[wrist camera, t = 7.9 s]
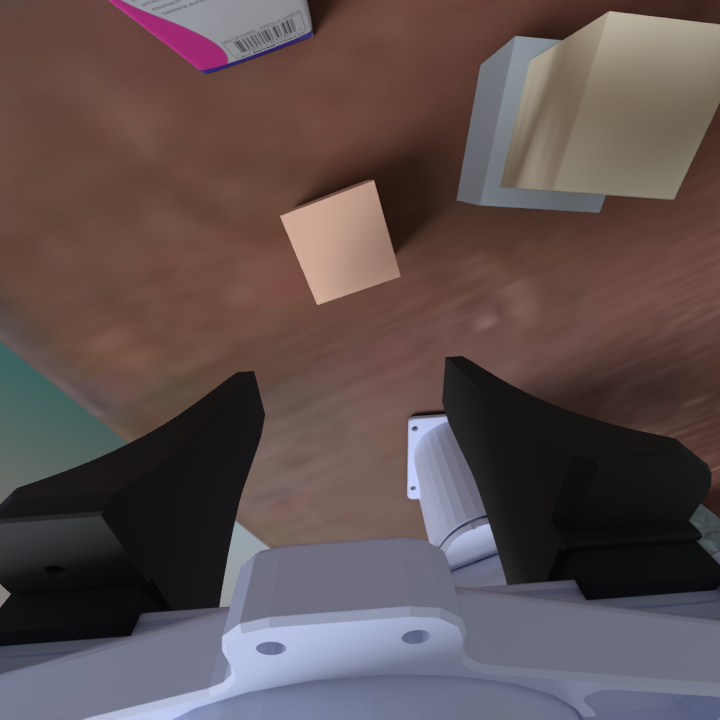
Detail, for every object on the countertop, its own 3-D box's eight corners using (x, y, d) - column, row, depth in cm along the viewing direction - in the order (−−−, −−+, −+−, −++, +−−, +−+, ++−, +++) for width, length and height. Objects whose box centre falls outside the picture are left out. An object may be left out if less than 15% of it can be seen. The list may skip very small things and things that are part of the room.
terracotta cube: (389, 257, 21) (400, 276, 17) (322, 280, 21) (317, 304, 17) (367, 179, 18) (374, 180, 15) (293, 207, 19) (280, 216, 15)
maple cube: (590, 194, 16) (673, 199, 12) (499, 186, 15) (553, 190, 11) (635, 72, 14) (754, 28, 10) (530, 60, 13) (609, 11, 9)
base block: (554, 206, 20) (599, 212, 16) (455, 200, 19) (479, 205, 16) (594, 76, 17) (660, 49, 13) (479, 66, 16) (515, 36, 13)
